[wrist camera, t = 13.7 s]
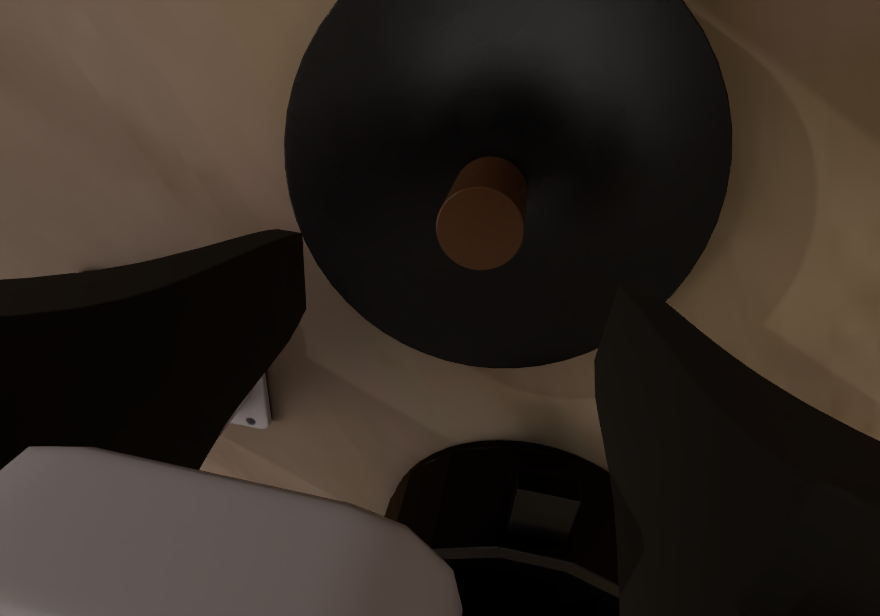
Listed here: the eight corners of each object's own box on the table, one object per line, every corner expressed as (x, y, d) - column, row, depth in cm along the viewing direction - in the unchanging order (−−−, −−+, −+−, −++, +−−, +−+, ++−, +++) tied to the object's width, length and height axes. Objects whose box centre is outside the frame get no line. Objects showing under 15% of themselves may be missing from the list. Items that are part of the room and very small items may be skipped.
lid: (332, 345, 24) (289, 411, 20) (253, -50, 16) (156, -72, 12) (676, 363, 21) (708, 445, 17) (780, -104, 13) (884, -157, 9)
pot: (387, 599, 34) (360, 701, 29) (398, 375, 24) (358, 472, 19) (599, 648, 32) (610, 765, 27) (707, 430, 22) (757, 553, 17)
